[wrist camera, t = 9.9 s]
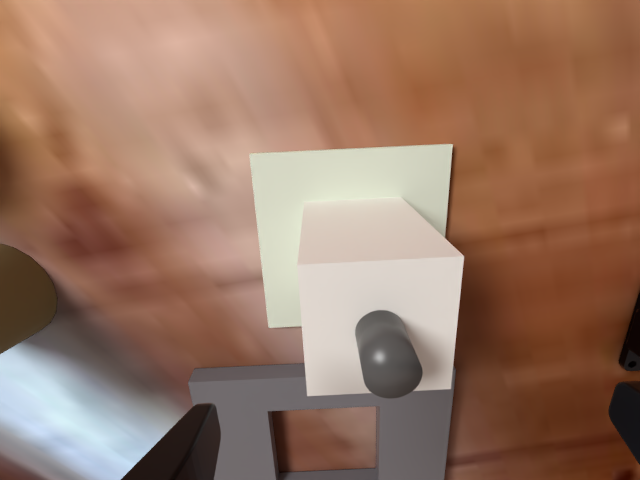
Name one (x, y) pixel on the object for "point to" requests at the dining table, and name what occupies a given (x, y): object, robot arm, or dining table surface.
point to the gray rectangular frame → (291, 394)
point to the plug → (376, 299)
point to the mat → (335, 184)
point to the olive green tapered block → (23, 297)
